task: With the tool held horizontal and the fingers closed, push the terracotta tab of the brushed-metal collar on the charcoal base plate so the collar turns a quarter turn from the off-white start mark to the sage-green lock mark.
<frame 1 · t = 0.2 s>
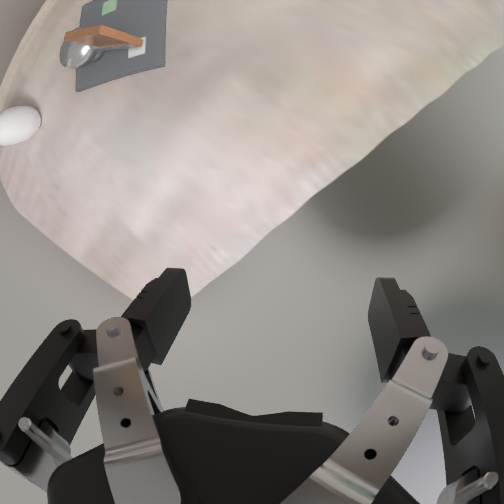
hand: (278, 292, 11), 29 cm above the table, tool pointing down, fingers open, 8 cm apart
lock base: (119, 30, 30), on the table
twist collar: (82, 41, 24), point 9 cm above the table, hinge at 0.0°
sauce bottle: (39, 121, 39), on the table
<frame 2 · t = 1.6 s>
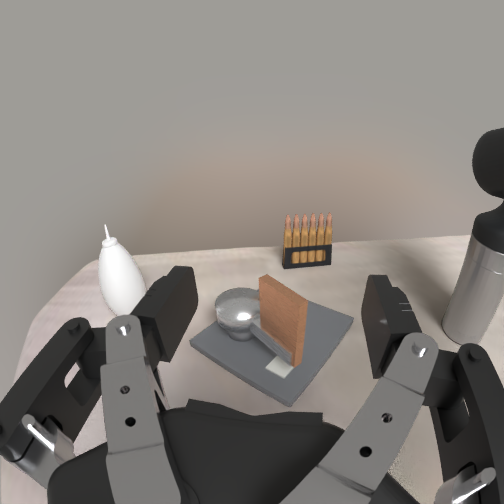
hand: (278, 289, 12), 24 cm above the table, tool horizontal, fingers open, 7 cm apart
lock base: (275, 336, 42), on the table
twist collar: (257, 304, 35), point 9 cm above the table, hinge at 0.0°
ammunition clip: (306, 265, 61), on the table
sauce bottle: (133, 316, 47), on the table
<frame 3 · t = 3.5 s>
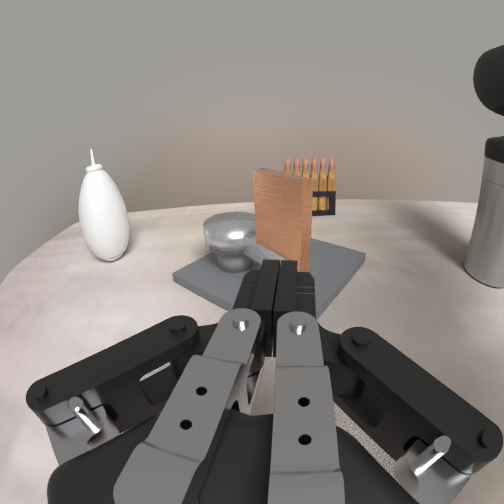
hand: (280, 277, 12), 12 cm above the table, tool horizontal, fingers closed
lock base: (274, 271, 36), on the table
twist collar: (252, 213, 29), point 9 cm above the table, hinge at 0.0°
ammunition clip: (309, 215, 55), on the table
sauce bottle: (113, 259, 41), on the table
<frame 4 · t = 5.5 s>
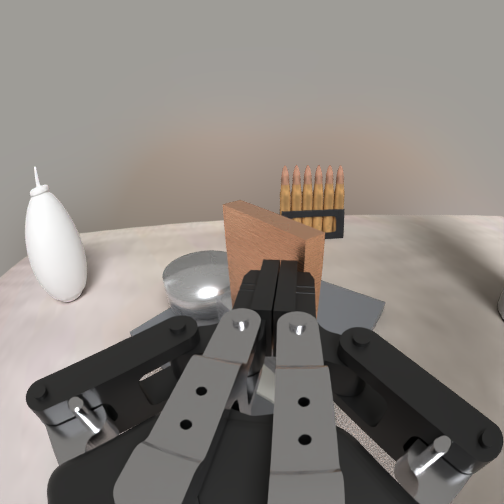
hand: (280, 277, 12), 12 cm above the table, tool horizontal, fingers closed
lock base: (264, 331, 26), on the table
twist collar: (227, 266, 19), point 9 cm above the table, hinge at 0.0°, touching gripper
ammunition clip: (311, 239, 45), on the table
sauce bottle: (72, 298, 31), on the table
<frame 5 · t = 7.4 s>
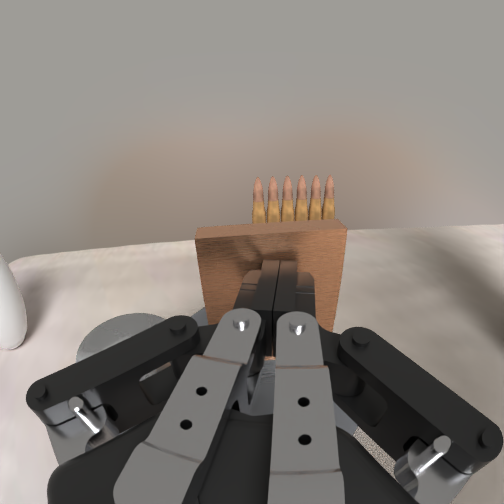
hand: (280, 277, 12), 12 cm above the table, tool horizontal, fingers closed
lock base: (220, 414, 18), on the table
twist collar: (185, 321, 14), point 9 cm above the table, hinge at 57.1°, touching gripper
ammunition clip: (293, 266, 37), on the table
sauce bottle: (17, 344, 22), on the table
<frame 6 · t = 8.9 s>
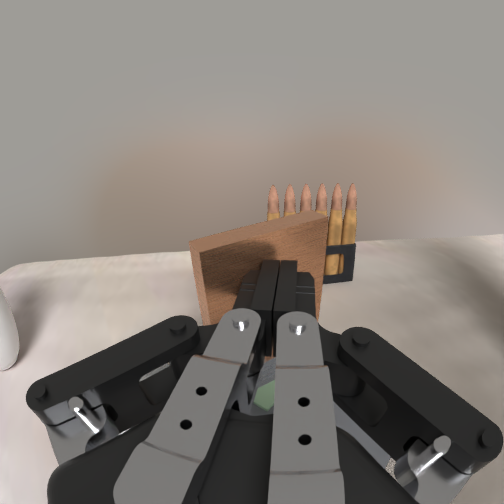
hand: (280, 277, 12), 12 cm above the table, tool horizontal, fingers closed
lock base: (230, 459, 14), on the table
twist collar: (185, 346, 12), point 9 cm above the table, hinge at 84.6°, touching gripper
ammunition clip: (309, 282, 33), on the table
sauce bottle: (10, 363, 19), on the table
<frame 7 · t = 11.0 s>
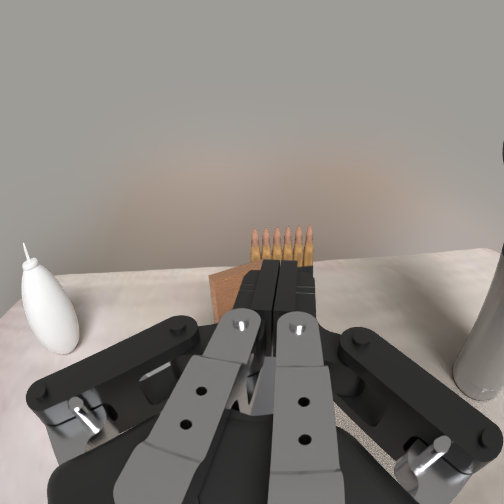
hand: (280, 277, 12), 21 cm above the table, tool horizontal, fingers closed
lock base: (226, 393, 29), on the table
twist collar: (205, 322, 27), point 9 cm above the table, hinge at 84.8°
ammunition clip: (281, 292, 49), on the table
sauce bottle: (68, 350, 34), on the table
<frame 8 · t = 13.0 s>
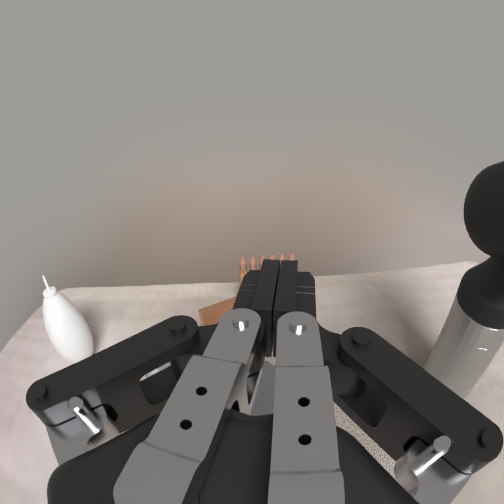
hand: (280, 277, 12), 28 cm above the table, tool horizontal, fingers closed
lock base: (215, 398, 36), on the table
twist collar: (197, 344, 34), point 9 cm above the table, hinge at 84.8°
ammunition clip: (268, 308, 55), on the table
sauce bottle: (84, 360, 41), on the table
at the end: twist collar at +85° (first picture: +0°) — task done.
